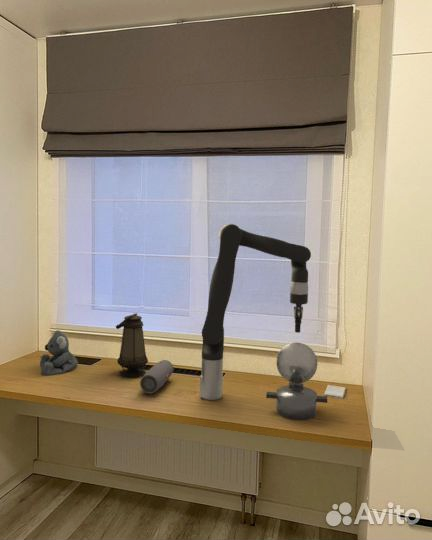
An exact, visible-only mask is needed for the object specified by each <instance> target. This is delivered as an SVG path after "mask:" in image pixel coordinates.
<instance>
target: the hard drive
mask: <svg viewBox="0 0 432 540" xmlns="http://www.w3.org/2000/svg"><path fill="white" fill-rule="evenodd" d="M346 390H347V387H345V386H338V385H332V384H331V385H330V384H327V387H326V389H325V391H324V394H323V396H327V398H335V399H341V400H343V399H344V397H345V393H346Z"/></svg>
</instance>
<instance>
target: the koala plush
mask: <svg viewBox="0 0 432 540" xmlns="http://www.w3.org/2000/svg"><path fill="white" fill-rule="evenodd" d="M69 344H70V343H69V339H68V337H67V336H66V334H64V333H62V332H61V330H59V329H56V330H54V331H53V334H52V336H51V337H50V339H49V340H48V342H47V344H45V345H44V349H45V351H47V352H48V353H49V354H50V355H52V356H50V355H49V354H45V353H43V354H42V355H41V358H40V361H39V366H40V368H41V372H40V374H41V375H42V376H54V375H59V374H60V375H61V374H64V373H66V372H70V371H72V370H75V369H77V368H78V365H79V362H78V359H77V358H76V356H75V355H74V354H73V353H71V352H70V350H69V349H70V348H69V347H70V345H69Z"/></svg>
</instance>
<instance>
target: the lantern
mask: <svg viewBox="0 0 432 540" xmlns="http://www.w3.org/2000/svg"><path fill="white" fill-rule="evenodd" d="M143 327H144V322H143V321H142V316H141V315H138V313H133V314H130V315H127V316H124V318H123V321H121V322H120V323H118V324H117V325H115V328H116V329H117V330H119V329H121V328H122V336H121V343H120V344H121V345H120V352H119V357H118V358H117V361H116V362H117V364H118V365H120V367H121V369H122V370H121V371H120V372H119V376H120V377H122V378H125V379H135V378H142V377H143V376H144V375H145V374H146V373H147V371H145V370H144V369H142V367H144V366H145V365H146V364H147V363H148V362H149V358H148V357H147V354H146V348H145V347H146V345H145V336H144V330H143V329H144V328H143Z"/></svg>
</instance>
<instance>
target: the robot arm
mask: <svg viewBox="0 0 432 540" xmlns="http://www.w3.org/2000/svg"><path fill="white" fill-rule="evenodd" d="M218 238H219V249H218V256H217V261H216V262H215V264H214V265H215V266H214V268H213V271H212V274H211V279H210V283H209V284H210V285H209V292H208V300H207V301H208V302H207V304H208V305H207V312H206V316H205V320H204V323H203V327H202V329H201V336H202V346H201V370H200V371H201V374H200V377H199V378H200V380H199V398H201V399H205V400H208V401H209V400H210V401H215V400H219V399H221V398H222V397H223V377H224V375H223V373H224V350H225V349H224V345H225V344H224V343H225V328H224V323H225V322H224V320H225V313H226V310H227V307H228V305H229V301H230V298H231V294H232V290H233V289H232V288H233V284H234V276H235V269H236V259H237V255H238V252H239V247H240V246H242V247H246V248H250V249H253V250H256V251H259V252H261V253H264V254H268V255H272V256H274V257H279V258H283V259H288V260H290V265H291V280H290V282H291V283H290V289H289V291H290V293H289V302H290V303H291V304H293V305H295V306H293V316H294V317H293V318H294V324H295V325H294V332H295V333H301V327H302V326H301V325H302V320H303V313H304V307H303V306H302V305H307V304H308V302H309V301H308V299H309V283H308V282H309V270H308V268H307V262H308V261H309V260H310V259H311V258H312V257H311V256H312V253H311V249H309V248H308V247H306V246H304V245H300V244H295V243H290V242H287V241H285V240H282V239H278V238H275V237H270V236H265V235H262V234H256V233H253V232H250V231H247V230H244V229H242V228H240V227H239V226H238V225H236V224H233V223H226V224H225V225H222V226H221V227H220V229H219V231H218Z"/></svg>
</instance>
